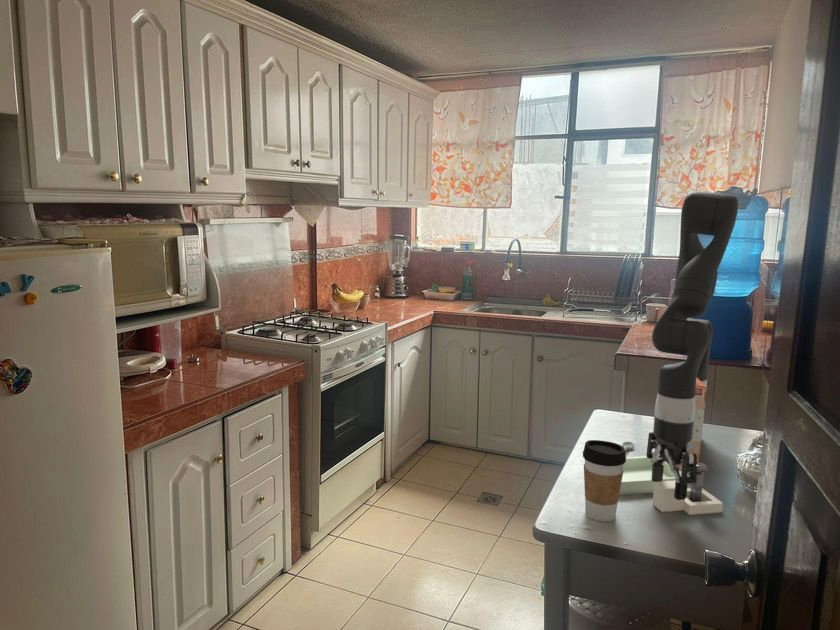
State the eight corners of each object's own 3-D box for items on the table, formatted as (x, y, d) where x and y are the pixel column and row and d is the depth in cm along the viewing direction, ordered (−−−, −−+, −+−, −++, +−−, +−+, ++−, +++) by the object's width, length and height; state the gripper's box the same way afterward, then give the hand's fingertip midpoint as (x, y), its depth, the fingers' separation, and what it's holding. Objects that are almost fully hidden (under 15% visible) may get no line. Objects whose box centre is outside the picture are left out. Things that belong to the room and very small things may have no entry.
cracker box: (700, 469, 148) (708, 386, 145) (673, 467, 149) (680, 384, 146) (687, 448, 162) (694, 371, 158) (663, 446, 163) (669, 370, 159)
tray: (590, 471, 147) (590, 459, 146) (657, 467, 150) (658, 455, 149) (615, 495, 134) (616, 482, 134) (688, 490, 137) (689, 477, 137)
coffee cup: (575, 504, 130) (579, 437, 127) (615, 505, 130) (620, 438, 127) (584, 524, 122) (588, 452, 119) (627, 525, 121) (632, 454, 119)
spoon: (635, 447, 162) (635, 440, 162) (623, 466, 153) (623, 458, 152) (624, 445, 164) (624, 438, 164) (611, 463, 154) (611, 456, 154)
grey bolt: (683, 502, 132) (687, 462, 130) (697, 500, 132) (700, 461, 131) (692, 509, 128) (696, 468, 127) (706, 508, 129) (710, 467, 127)
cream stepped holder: (700, 495, 135) (702, 474, 134) (722, 512, 127) (724, 489, 126) (647, 499, 132) (649, 477, 132) (667, 516, 125) (669, 493, 124)
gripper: (712, 426, 119) (705, 504, 122) (671, 404, 133) (665, 475, 136) (677, 428, 118) (670, 506, 121) (639, 405, 132) (634, 476, 134)
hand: (667, 489), depth 128 cm, fingers open, 8 cm apart
